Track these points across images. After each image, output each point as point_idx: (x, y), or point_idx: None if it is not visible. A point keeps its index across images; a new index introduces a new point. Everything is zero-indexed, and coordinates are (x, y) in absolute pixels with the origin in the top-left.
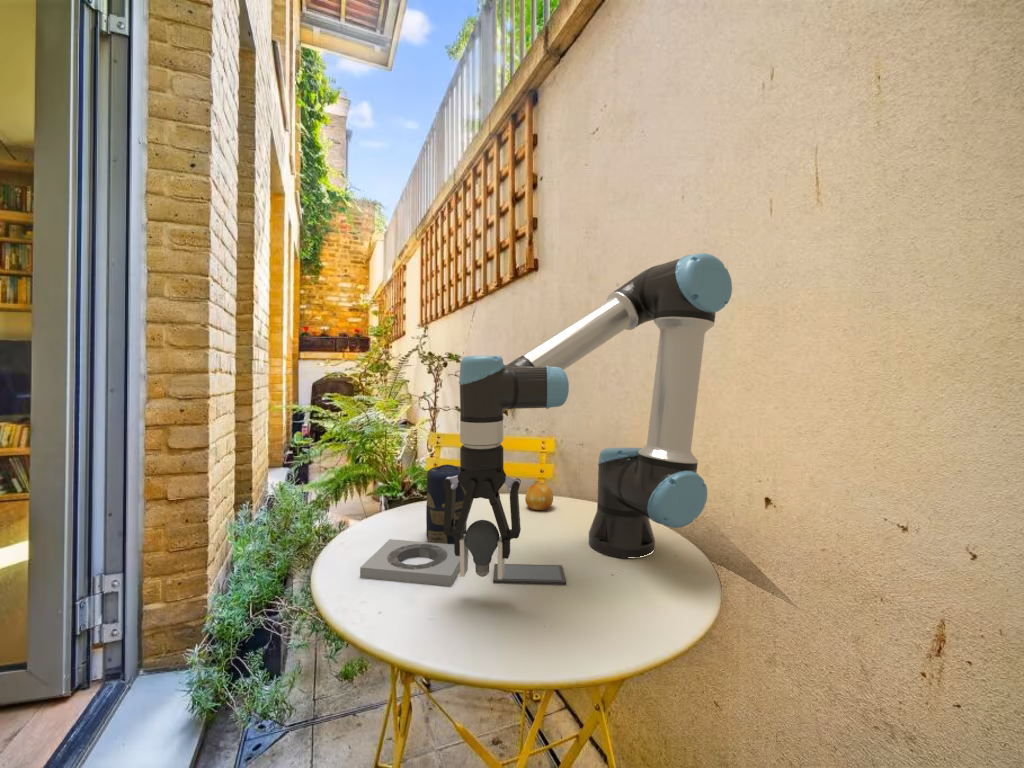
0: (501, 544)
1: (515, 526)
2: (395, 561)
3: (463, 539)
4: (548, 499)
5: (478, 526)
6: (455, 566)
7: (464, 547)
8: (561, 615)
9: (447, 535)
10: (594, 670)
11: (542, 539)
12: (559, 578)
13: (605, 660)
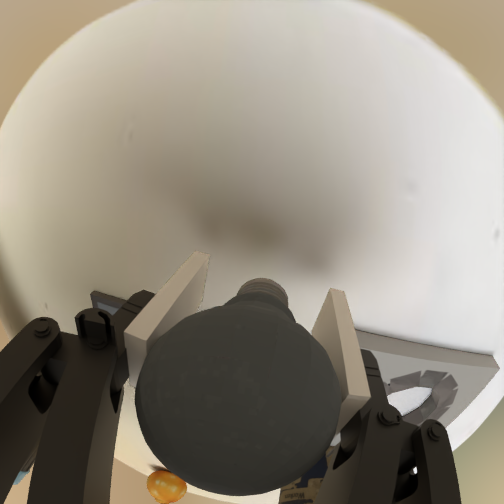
0: (131, 324)
1: (11, 358)
2: (446, 393)
3: (348, 402)
4: (151, 479)
5: (246, 460)
6: None
7: (340, 369)
8: (98, 179)
9: (325, 461)
10: (89, 31)
11: None
12: (101, 308)
13: (69, 58)
